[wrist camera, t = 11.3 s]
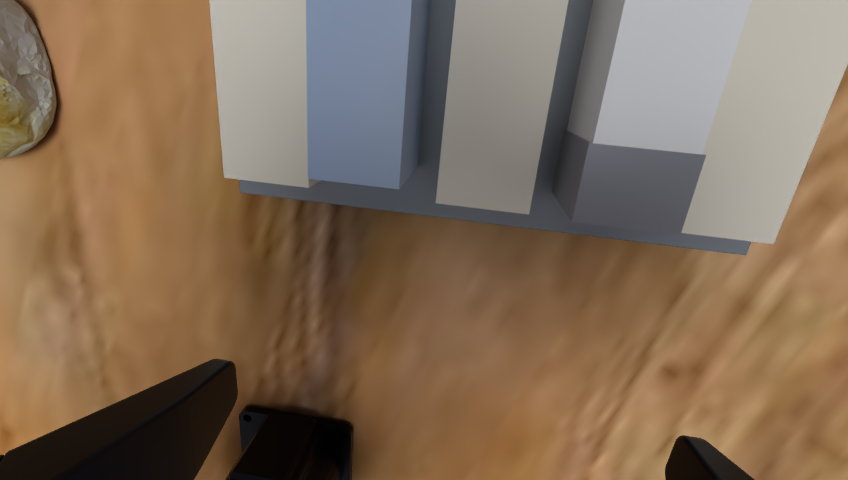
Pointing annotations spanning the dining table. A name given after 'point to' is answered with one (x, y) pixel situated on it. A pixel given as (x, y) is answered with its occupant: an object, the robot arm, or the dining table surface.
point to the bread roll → (23, 82)
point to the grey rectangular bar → (365, 89)
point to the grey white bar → (645, 110)
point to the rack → (533, 115)
